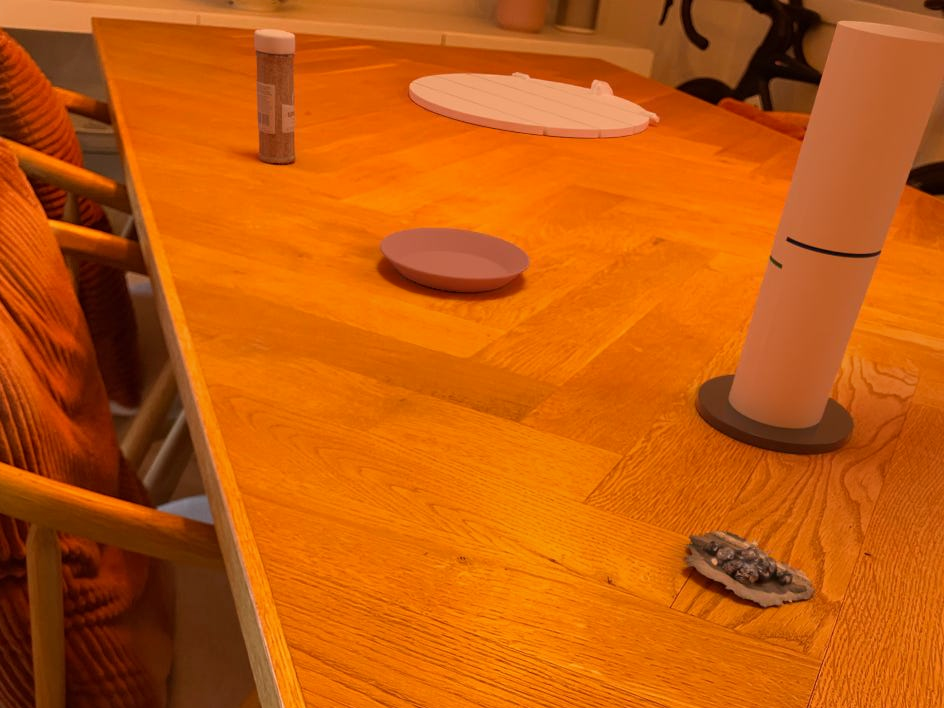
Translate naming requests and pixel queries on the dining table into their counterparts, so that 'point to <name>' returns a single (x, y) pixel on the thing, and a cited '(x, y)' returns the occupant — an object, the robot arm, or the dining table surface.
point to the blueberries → (747, 569)
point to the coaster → (808, 440)
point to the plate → (454, 258)
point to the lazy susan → (531, 105)
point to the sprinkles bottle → (275, 95)
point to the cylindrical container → (836, 217)
